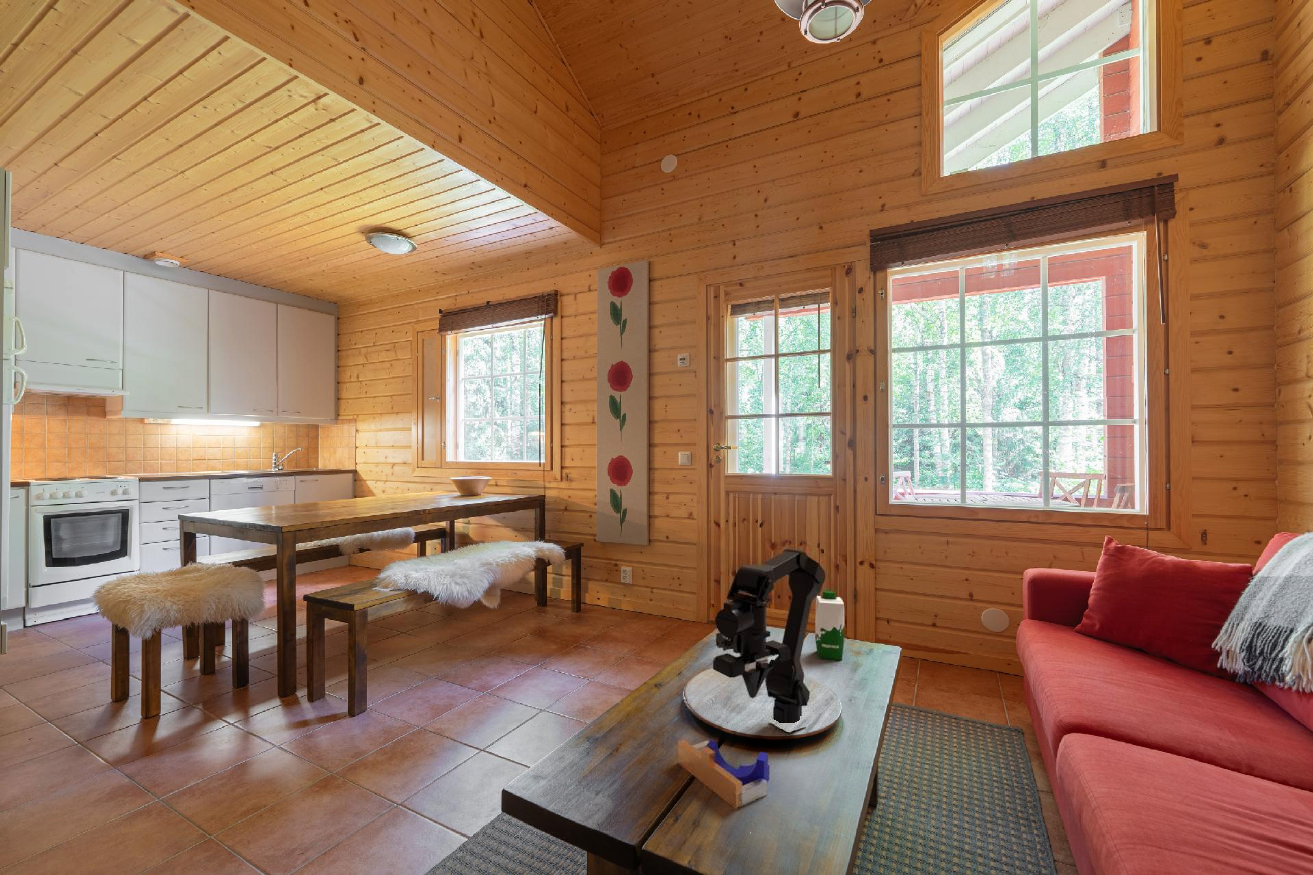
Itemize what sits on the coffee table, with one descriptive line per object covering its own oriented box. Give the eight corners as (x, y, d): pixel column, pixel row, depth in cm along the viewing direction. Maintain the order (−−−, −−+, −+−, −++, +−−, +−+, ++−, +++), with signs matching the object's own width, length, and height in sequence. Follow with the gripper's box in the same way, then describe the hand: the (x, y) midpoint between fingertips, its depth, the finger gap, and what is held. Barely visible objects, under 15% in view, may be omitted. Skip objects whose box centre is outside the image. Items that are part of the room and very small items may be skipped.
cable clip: (769, 779, 114) (769, 749, 114) (763, 792, 110) (764, 760, 110) (712, 765, 119) (712, 736, 119) (705, 776, 115) (705, 746, 115)
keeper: (707, 751, 124) (707, 722, 124) (767, 794, 109) (767, 760, 109) (677, 762, 119) (678, 731, 119) (735, 808, 104) (736, 773, 104)
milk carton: (841, 651, 187) (842, 590, 187) (845, 662, 178) (846, 597, 178) (813, 649, 188) (814, 588, 188) (816, 659, 179) (817, 595, 179)
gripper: (756, 609, 137) (755, 674, 136) (696, 623, 126) (695, 694, 125) (792, 621, 128) (791, 691, 127) (731, 637, 117) (730, 714, 116)
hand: (752, 696), depth 124 cm, fingers closed
